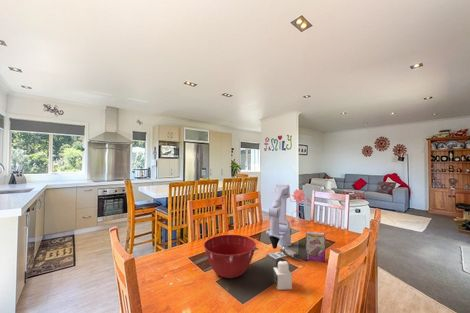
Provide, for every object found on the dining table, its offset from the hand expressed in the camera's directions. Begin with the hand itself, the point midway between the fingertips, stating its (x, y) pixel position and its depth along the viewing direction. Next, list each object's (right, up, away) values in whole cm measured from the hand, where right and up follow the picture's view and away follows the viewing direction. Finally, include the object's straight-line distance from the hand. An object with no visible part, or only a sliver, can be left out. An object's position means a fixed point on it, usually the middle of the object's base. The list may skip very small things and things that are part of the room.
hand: (274, 248), depth 132 cm
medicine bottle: (-2, -4, -32) cm, 32 cm away
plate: (+2, -5, +1) cm, 6 cm away
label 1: (0, -5, 0) cm, 5 cm away
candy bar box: (+24, -6, -4) cm, 25 cm away
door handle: (+10, -4, 0) cm, 11 cm away
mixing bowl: (-28, -5, -19) cm, 35 cm away
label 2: (+4, -5, +2) cm, 7 cm away
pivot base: (+8, -6, +4) cm, 10 cm away
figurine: (+37, -9, +70) cm, 80 cm away
